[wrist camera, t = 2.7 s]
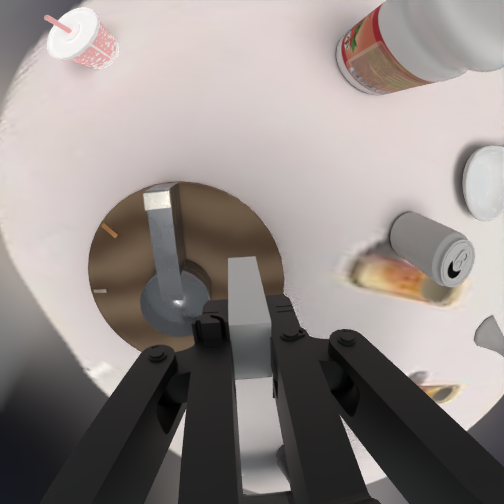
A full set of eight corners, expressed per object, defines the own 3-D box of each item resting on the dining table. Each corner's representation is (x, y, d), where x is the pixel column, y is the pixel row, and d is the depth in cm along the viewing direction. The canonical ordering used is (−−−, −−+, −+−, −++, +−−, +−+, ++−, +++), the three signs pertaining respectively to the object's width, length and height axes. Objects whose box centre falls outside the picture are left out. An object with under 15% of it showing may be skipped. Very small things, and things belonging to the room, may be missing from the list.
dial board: (282, 354, 42) (283, 359, 41) (117, 359, 41) (115, 364, 40) (280, 174, 34) (282, 175, 32) (75, 195, 32) (71, 196, 31)
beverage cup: (105, 25, 25) (54, -18, 12) (135, 45, 27) (88, 0, 13) (74, 61, 26) (11, 34, 13) (101, 83, 28) (39, 58, 15)
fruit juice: (350, 102, 31) (557, 65, 5) (322, 36, 28) (469, -89, 1) (407, 90, 30) (592, 72, 4) (382, 28, 27) (538, -46, 1)
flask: (494, 330, 48) (519, 353, 38) (473, 349, 48) (498, 375, 39) (494, 309, 45) (522, 332, 36) (472, 329, 46) (500, 356, 37)
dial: (215, 313, 38) (213, 339, 32) (156, 316, 37) (147, 340, 32) (202, 180, 32) (197, 186, 27) (134, 187, 31) (117, 195, 26)
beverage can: (379, 239, 37) (429, 274, 26) (405, 201, 36) (462, 225, 24) (406, 261, 39) (454, 299, 28) (429, 227, 37) (484, 255, 26)
